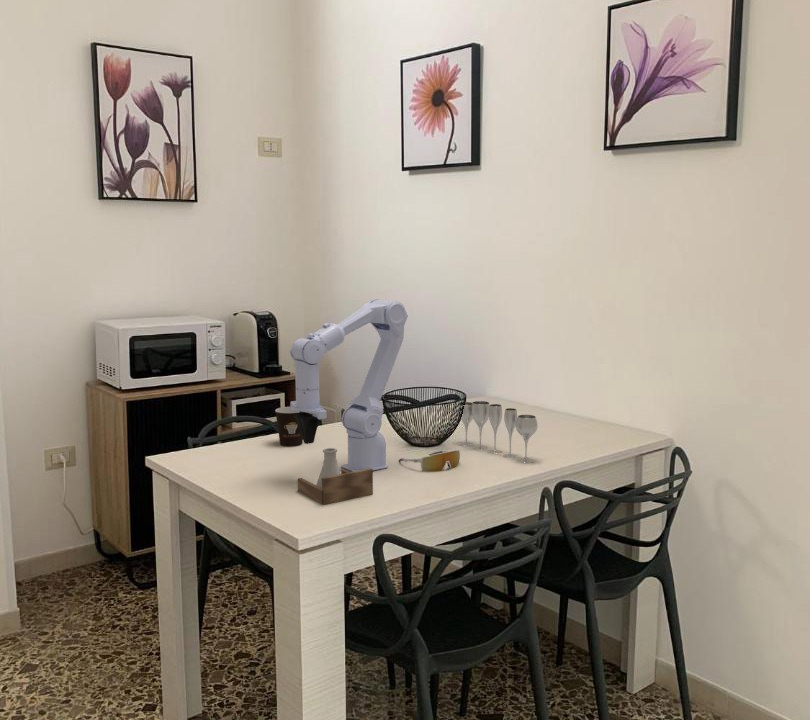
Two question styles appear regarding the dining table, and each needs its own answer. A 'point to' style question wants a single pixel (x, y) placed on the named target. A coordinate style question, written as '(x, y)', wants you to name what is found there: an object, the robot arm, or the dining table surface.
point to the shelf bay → (339, 486)
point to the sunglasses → (437, 460)
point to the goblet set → (484, 410)
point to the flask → (328, 465)
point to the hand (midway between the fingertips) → (308, 442)
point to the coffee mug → (288, 427)
